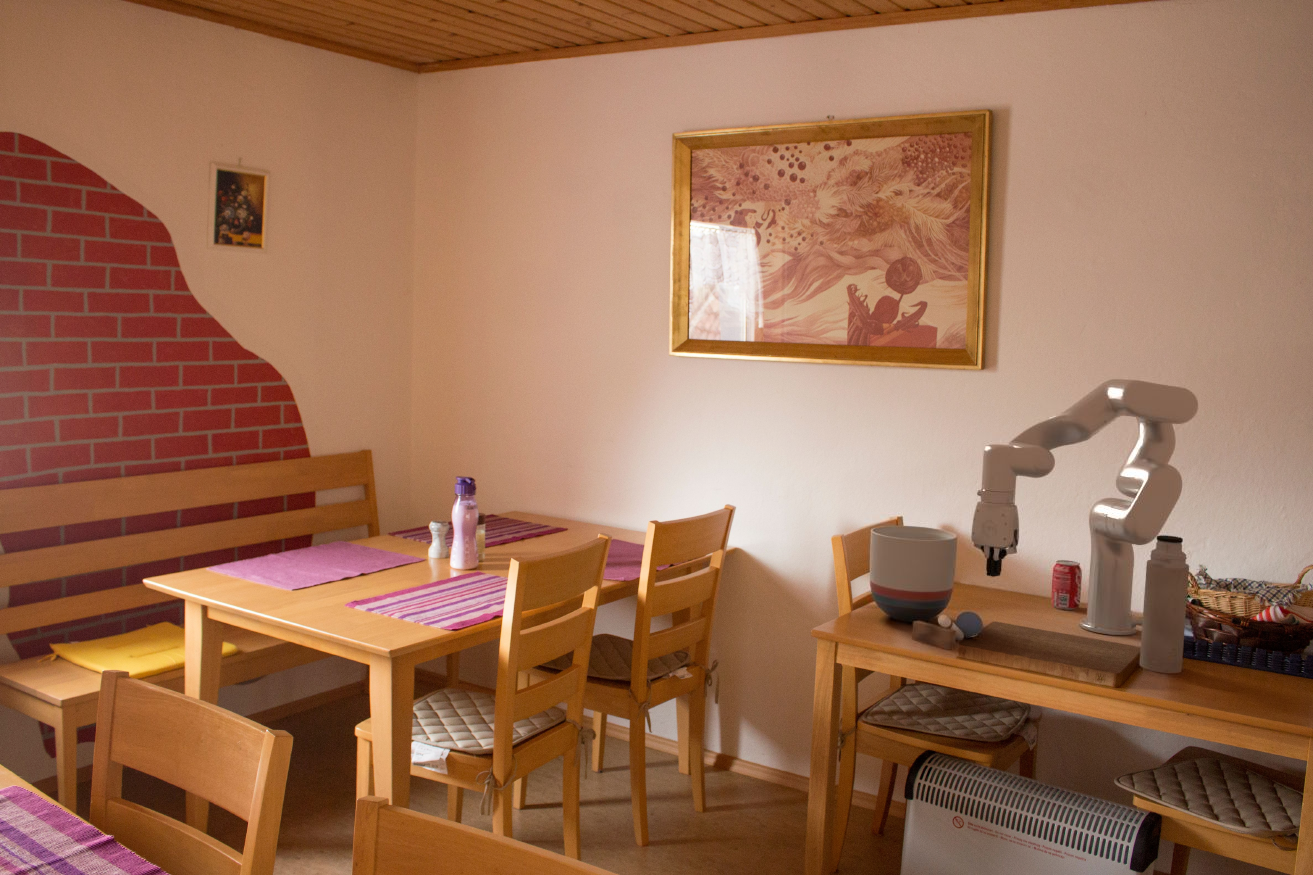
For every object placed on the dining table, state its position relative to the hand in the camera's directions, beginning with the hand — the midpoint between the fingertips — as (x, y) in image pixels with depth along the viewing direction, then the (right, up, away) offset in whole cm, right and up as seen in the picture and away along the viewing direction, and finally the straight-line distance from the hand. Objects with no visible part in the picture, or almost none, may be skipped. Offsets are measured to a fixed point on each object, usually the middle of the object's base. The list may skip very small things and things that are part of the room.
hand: (993, 575), depth 239 cm
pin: (-10, -13, -7) cm, 18 cm away
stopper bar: (-17, -14, -10) cm, 24 cm away
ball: (-7, -11, -4) cm, 14 cm away
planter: (-17, -12, +11) cm, 24 cm away
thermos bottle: (+28, -17, -23) cm, 40 cm away
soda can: (+28, -12, +28) cm, 41 cm away
